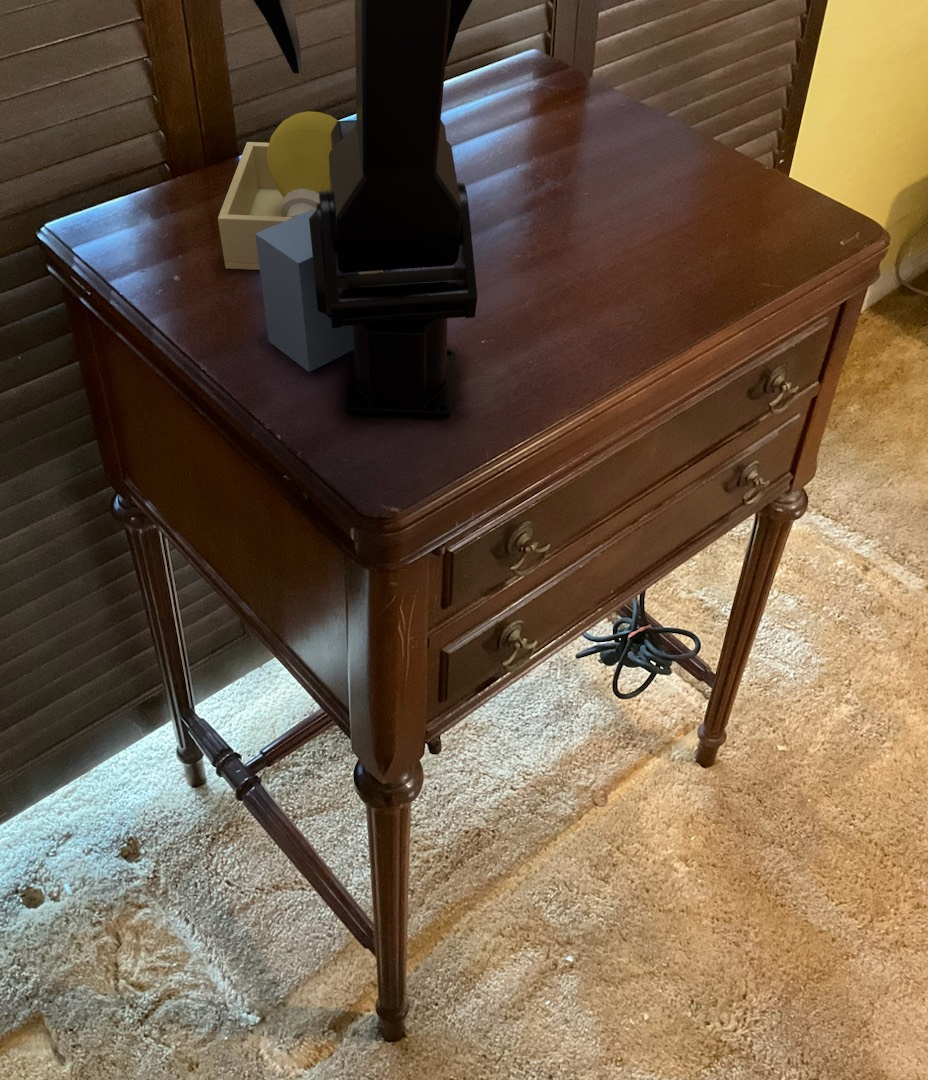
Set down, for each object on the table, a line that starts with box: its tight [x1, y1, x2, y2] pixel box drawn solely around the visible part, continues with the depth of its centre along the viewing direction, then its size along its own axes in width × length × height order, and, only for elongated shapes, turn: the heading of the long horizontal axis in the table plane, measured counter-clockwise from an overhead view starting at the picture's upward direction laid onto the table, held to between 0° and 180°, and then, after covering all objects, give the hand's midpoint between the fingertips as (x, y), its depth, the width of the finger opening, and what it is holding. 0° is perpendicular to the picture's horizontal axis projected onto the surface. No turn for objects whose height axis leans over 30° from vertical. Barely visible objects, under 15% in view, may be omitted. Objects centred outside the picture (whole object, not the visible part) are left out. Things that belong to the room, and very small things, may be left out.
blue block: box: [255, 210, 359, 373], centre depth 70 cm, size 4×4×8 cm
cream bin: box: [217, 141, 384, 274], centre depth 81 cm, size 11×11×4 cm
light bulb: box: [266, 110, 339, 217], centre depth 80 cm, size 7×7×10 cm
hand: (368, 73), depth 72 cm, fingers open, 9 cm apart
